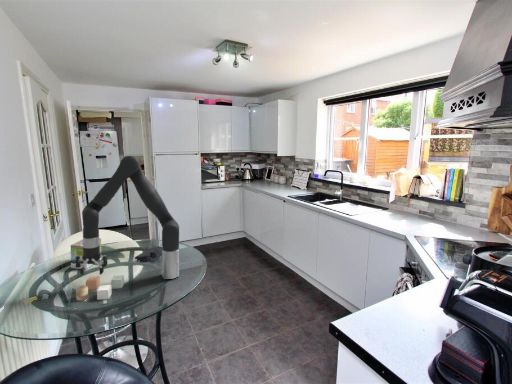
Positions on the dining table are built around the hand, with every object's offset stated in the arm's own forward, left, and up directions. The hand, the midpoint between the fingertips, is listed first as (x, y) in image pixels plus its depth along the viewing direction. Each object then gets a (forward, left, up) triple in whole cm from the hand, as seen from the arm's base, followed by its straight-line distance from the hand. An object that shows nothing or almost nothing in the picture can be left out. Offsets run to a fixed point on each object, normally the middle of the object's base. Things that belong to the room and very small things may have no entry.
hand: (92, 274), depth 141 cm
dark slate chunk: (-23, -40, -8) cm, 47 cm away
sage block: (-12, 0, -7) cm, 14 cm away
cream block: (-9, +10, -7) cm, 15 cm away
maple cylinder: (+1, +10, -7) cm, 13 cm away
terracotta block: (0, 0, -7) cm, 7 cm away
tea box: (+13, -30, -8) cm, 33 cm away
